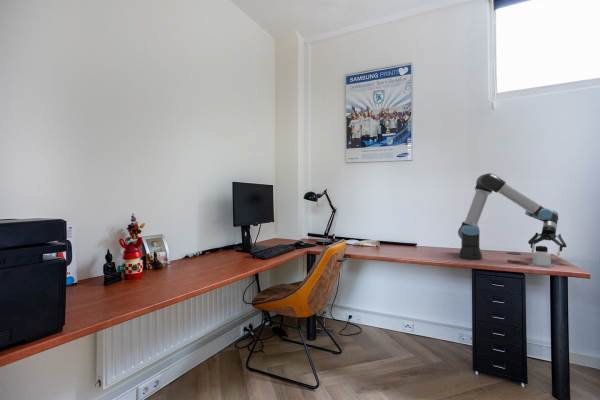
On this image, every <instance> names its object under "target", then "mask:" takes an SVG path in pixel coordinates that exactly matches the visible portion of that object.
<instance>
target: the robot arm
mask: <svg viewBox="0 0 600 400" xmlns="http://www.w3.org/2000/svg"><path fill="white" fill-rule="evenodd" d="M474 187H475V188H474V190H475V193H474V197H473V199H472V202H471V204H470V207H469V210H468V213H467V214H466V217H465V220H463V221H462V222H461V225H460V227H459V228H458V231H457V235H458V237H459V238H460V239H461V247H460V250H459V254H458V257H459V258H461V259H465V260H482V259H483V254H482V251H481V247H480V233H481V232H480V231H481V230H480V228H479V220H480V218H481V215H482V213H483V210H484V208H485V205H486V202H487V200H488V198H489V195H491V194H492V193H493V192H495V193H496V194H497V193H498V194H501V195H502V196H503V197H505V198H506V199H509V201H511V202H512V203H514V204H516V205H517V206H519V207H521V208H522V209H524V210H525V211H524V212H525V213H524V214H525V215H526V216H528V217H530V218H534V219H535V220H538V221H541V222H543V224H542V229H541V233H538V232H535V234H534V235H533V236H532V237H531V238H530V239H529V240H528V241H527V242H528V244H529V245H530V249H531V253H532V254H533V253H534V252H535V249H536V245H537V244H538V243H540V242H543V241H552V242H554V243H555V244H556V245H557V246H558V247H557V252H556V253H557V254H556V255H557V257H559V256H560V254H561V252H563V249H564V248H567V243H566V242H565V241H564V239H563V236H562V234H561V233H559V234H557V233H556V232H557V228H558V221H559V213H558V212H557V211H555V210H552V209H551V210H550V209H549V208H545V206H544V207H543V206H542V205H541V204H539V203H537V202H536V201H534V200H532V199H531V198H530V197H527V196H526V195H524V194H523V193H521V192H520V191H518V190H516V189H515V188H513V187H511V186H510V185H508V184H507V182H506V181H505V180H503V178H501V177H499V176H497V174H494V173H491V172H490V173H485V174H481V175H479V176H478V178H477V179H476V183H475V186H474ZM556 238H557V239H556ZM558 239H559V240H558Z"/></svg>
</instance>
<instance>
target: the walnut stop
mask: <svg viewBox="0 0 600 400" xmlns="http://www.w3.org/2000/svg"><path fill="white" fill-rule="evenodd" d="M507 263H508V264H515V265H523V266H528V265H529V262H528V261H521V260H514V259H507Z"/></svg>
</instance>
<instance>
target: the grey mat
mask: <svg viewBox="0 0 600 400" xmlns="http://www.w3.org/2000/svg"><path fill="white" fill-rule="evenodd" d="M530 266H531V267H532V266H533V267H541V268H547V269H548V268H549V269H551V268H552V267H554V264H552V263H551V266H543V265H536V264H534V263H533V262H532V263H530Z"/></svg>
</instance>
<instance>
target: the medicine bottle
mask: <svg viewBox="0 0 600 400" xmlns="http://www.w3.org/2000/svg"><path fill="white" fill-rule="evenodd" d="M532 263H534V264H536V265H543V266H551V264H552V255H551V254H550V253H548V247H547V245H546V246H545V245H535V251H534V253H532Z"/></svg>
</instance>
